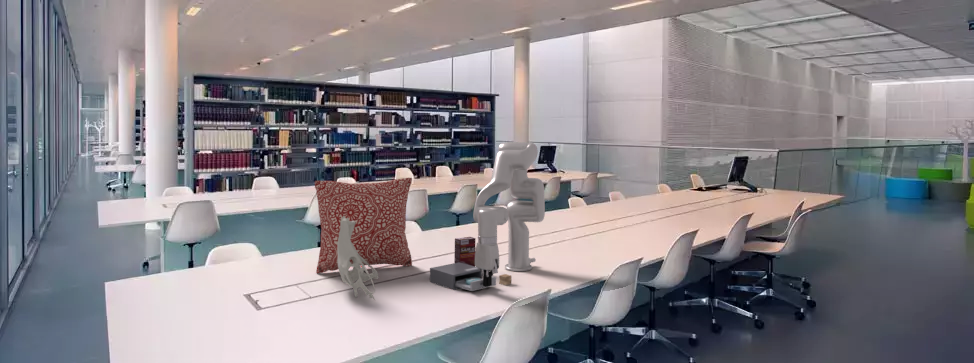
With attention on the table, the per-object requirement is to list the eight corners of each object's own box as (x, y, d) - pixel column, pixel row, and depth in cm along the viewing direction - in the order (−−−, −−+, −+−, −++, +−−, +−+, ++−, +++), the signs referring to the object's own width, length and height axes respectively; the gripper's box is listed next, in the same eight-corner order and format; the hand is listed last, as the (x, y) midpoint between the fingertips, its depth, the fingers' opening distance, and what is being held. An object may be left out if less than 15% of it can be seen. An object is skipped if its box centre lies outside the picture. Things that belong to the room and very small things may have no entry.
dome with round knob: (473, 280, 241) (473, 276, 241) (483, 283, 237) (483, 279, 237) (462, 283, 237) (462, 279, 237) (472, 286, 233) (472, 282, 233)
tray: (472, 278, 247) (472, 270, 247) (496, 285, 236) (496, 276, 236) (448, 283, 239) (448, 275, 238) (471, 291, 228) (471, 282, 227)
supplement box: (459, 275, 257) (459, 240, 255) (454, 273, 260) (453, 238, 259) (476, 272, 262) (476, 237, 260) (469, 270, 265) (469, 236, 264)
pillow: (318, 278, 251) (315, 181, 247) (314, 269, 266) (312, 178, 262) (416, 269, 267) (416, 178, 263) (408, 262, 282) (407, 176, 278)
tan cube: (505, 282, 246) (505, 273, 245) (511, 283, 243) (511, 275, 243) (499, 283, 243) (499, 275, 243) (505, 285, 241) (505, 277, 240)
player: (459, 275, 256) (459, 261, 256) (483, 282, 244) (483, 268, 244) (430, 282, 245) (429, 267, 245) (453, 289, 234) (453, 274, 233)
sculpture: (387, 302, 217) (386, 222, 215) (339, 305, 213) (337, 224, 210) (379, 280, 249) (378, 210, 246) (337, 282, 244) (335, 212, 241)
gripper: (467, 238, 232) (467, 283, 234) (493, 244, 221) (493, 291, 223) (481, 236, 237) (481, 280, 239) (507, 241, 226) (507, 288, 228)
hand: (487, 285), depth 231 cm, fingers closed
